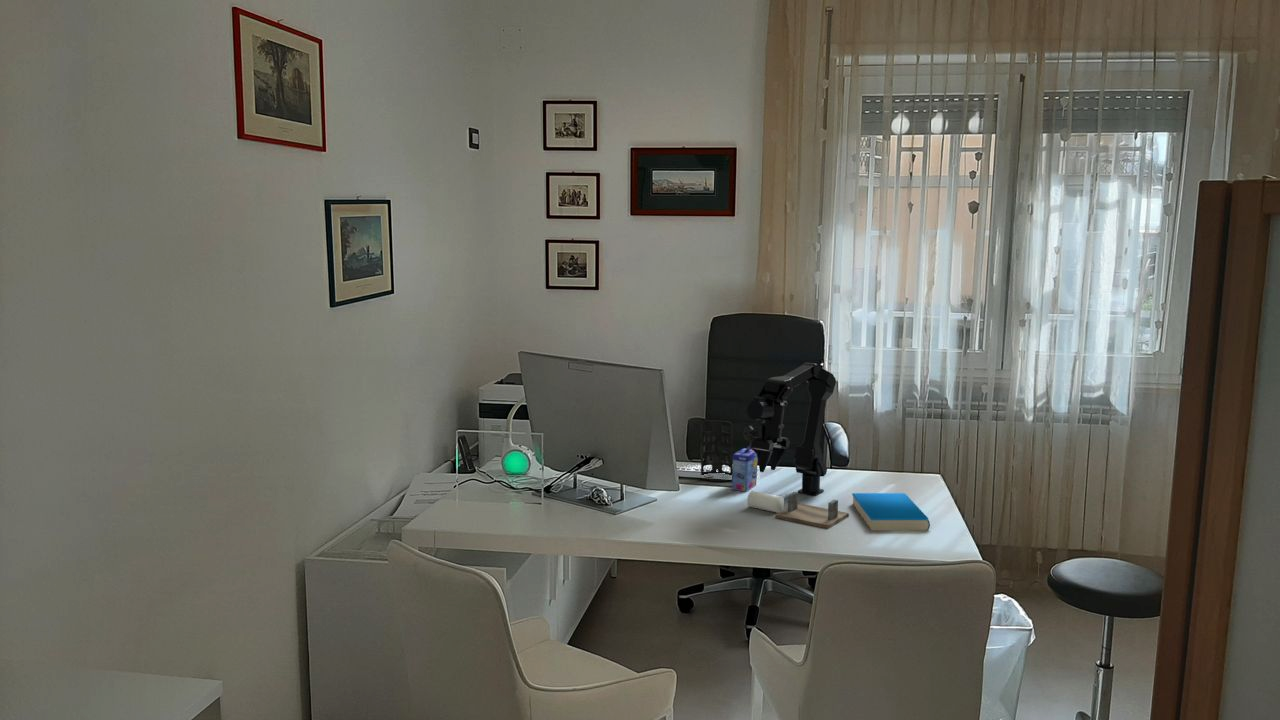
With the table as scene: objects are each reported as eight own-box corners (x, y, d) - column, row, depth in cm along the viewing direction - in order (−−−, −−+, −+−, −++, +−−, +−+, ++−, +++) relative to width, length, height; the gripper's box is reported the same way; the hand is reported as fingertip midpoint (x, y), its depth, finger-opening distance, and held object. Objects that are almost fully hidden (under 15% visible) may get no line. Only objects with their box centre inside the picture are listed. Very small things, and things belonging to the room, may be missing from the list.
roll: (756, 502, 294) (754, 488, 293) (784, 508, 288) (783, 493, 287) (748, 509, 291) (746, 495, 289) (776, 515, 285) (775, 501, 283)
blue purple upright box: (747, 492, 307) (747, 449, 304) (731, 490, 309) (731, 447, 307) (758, 484, 315) (758, 442, 313) (742, 482, 318) (743, 440, 316)
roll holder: (797, 506, 292) (797, 487, 291) (848, 516, 282) (849, 496, 281) (775, 517, 281) (776, 498, 280) (828, 528, 271) (828, 508, 270)
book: (871, 518, 269) (851, 492, 294) (870, 533, 270) (850, 505, 294) (931, 518, 269) (906, 491, 294) (930, 532, 270) (905, 505, 294)
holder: (701, 482, 318) (701, 424, 315) (699, 476, 326) (699, 419, 323) (733, 482, 319) (734, 424, 316) (731, 475, 326) (731, 419, 323)
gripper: (759, 415, 299) (754, 464, 299) (736, 417, 283) (730, 468, 283) (793, 420, 294) (787, 470, 294) (771, 422, 277) (765, 475, 278)
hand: (767, 471), depth 287 cm, fingers open, 9 cm apart
